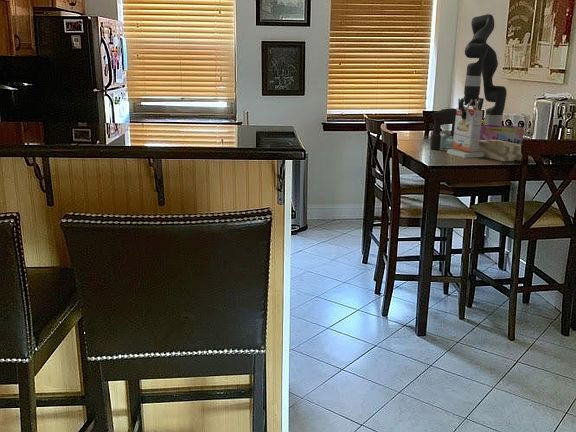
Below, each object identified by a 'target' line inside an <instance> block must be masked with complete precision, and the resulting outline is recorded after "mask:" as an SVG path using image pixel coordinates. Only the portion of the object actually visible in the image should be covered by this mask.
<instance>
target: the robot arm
mask: <svg viewBox="0 0 576 432" xmlns="http://www.w3.org/2000/svg"><path fill="white" fill-rule="evenodd" d="M470 24H471V29H472V34H473V36H472V38H471V40H470V41H469V42H468V43H467V44H466V46H465V48H464V55H465V56H466V58H468V59H478V60H477V61H476V62H472V63H468V64H467V67H466V75H465V81H464V87H463V88H464V90H463V94H464V96H463V97H462V98H461V97H460V98H458V108H459V110H460V111H462V116H461V117H462V119H466V111H467V109H468V108H469V107H472V109H475V110H482V111H483V104H484V101H487V102H488V103H495V104H494V105H493V106H492V107H489V108H486V109H485V117H484V124H483V125H495V126H502V121H503V113H504V110H505V107H506V100H507V95H508V93H507V88H506V86H504V85H502V86H501V85H494V82H493V77H494V75H495V73H496V71H497V68H498V66H499V60H498V57H497V52H496V51H495V50H494V48H493V47H492V46H490V45H489V44H488V39H489V37H490V36H491V34H492V33H493V31H494V29H495V18H494V16H493V14H489V13H488V14H482V15H479V16H474V17H473V18H471V23H470ZM482 83H483V84H482ZM482 85H483V95H484V97H483V98H482V97H479V95H480V93H481V86H482ZM469 109H470V108H469Z"/></svg>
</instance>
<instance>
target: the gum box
mask: <svg viewBox="0 0 576 432" xmlns="http://www.w3.org/2000/svg"><path fill="white" fill-rule="evenodd" d="M524 135H525V128H524V127H523V126H519V125H518V126H517V125H514V126H513V125H501V126H495V125H484V124H481V132H480V140H501V141H506V142H511V143H516V144H521V140H522V139H523V138H524ZM522 141H523V140H522Z"/></svg>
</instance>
